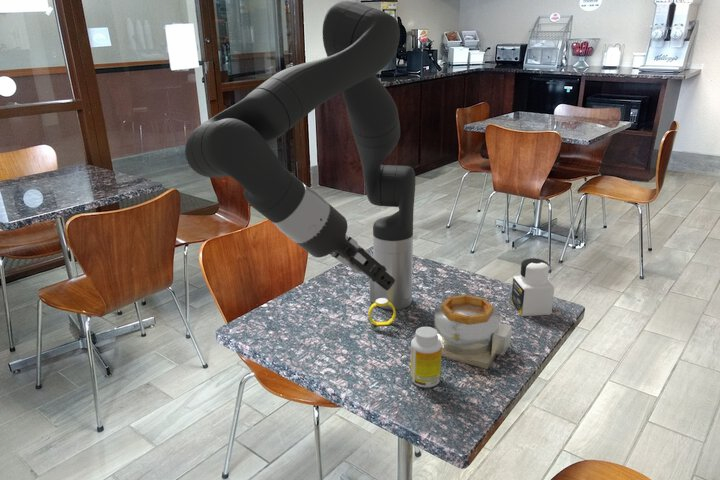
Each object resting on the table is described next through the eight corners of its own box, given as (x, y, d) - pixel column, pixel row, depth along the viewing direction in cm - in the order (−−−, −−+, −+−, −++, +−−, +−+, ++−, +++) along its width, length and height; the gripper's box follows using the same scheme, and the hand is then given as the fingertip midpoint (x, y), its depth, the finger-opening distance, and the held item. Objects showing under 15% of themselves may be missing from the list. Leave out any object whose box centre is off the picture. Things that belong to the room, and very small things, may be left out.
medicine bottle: (510, 302, 132) (514, 256, 127) (539, 301, 132) (544, 254, 128) (521, 316, 125) (525, 268, 121) (551, 315, 125) (557, 266, 121)
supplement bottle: (446, 384, 101) (448, 335, 98) (420, 392, 99) (421, 342, 95) (429, 368, 106) (431, 321, 102) (404, 376, 104) (405, 328, 100)
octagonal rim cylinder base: (420, 350, 112) (421, 312, 109) (446, 321, 123) (447, 285, 120) (496, 371, 105) (499, 331, 102) (516, 338, 116) (519, 301, 113)
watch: (370, 329, 121) (368, 305, 119) (368, 323, 124) (366, 299, 122) (397, 325, 122) (395, 301, 119) (395, 319, 124) (393, 296, 122)
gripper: (347, 211, 75) (415, 272, 84) (304, 189, 86) (367, 244, 95) (314, 256, 74) (386, 311, 83) (274, 227, 85) (341, 279, 95)
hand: (376, 275), depth 89 cm, fingers open, 8 cm apart
